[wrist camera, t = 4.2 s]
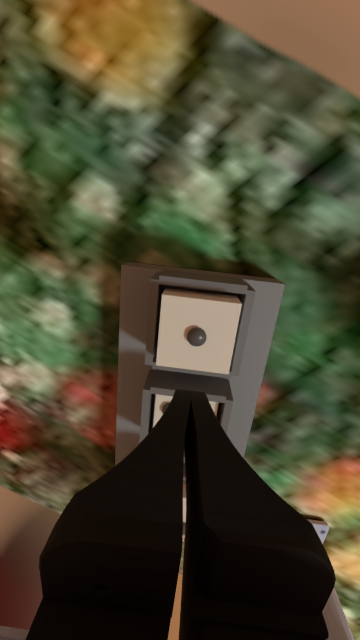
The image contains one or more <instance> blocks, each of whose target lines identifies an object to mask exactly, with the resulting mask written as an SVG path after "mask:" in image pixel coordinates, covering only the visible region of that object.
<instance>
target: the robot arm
mask: <svg viewBox="0 0 360 640" xmlns="http://www.w3.org/2000/svg"><path fill="white" fill-rule="evenodd" d="M184 449H185V478H186V525H185V544H184V562H183V580H182V596H181V613H180V629H179V640H354V638H353V635H352V633H351V630H350V628H349V625H348V622H347V620H346V617H345V615H344V612H343V609H342V607H341V604H340V602H339V599H338V596H337V594H336V591H335V589H334V584H335V581H336V579H335V574H334V570H333V567H332V565H331V562H330V560H329V557H328V555H327V552H326V550H325V548H324V546H323V542H324V540H325V537H326V535H327V533H328V530H329V526H328V524H327V523H326V522H324V521H317V520H309V519H306V518H304V517H303V516H302V515H301V514H299V513H298V512H297V511H296V510H295V509H293V508H292V507H291V506H290V505H289V504H287V503H286V502H285V501H284V500H283V499H282V498H281V497H280V496H279V495H277V494H276V493H275V492H274V491H273V490H272V489H271V488H270V487H269V486H268V485H267V484H266V483H265V482H264V481H263V480H262V479H261V478H260V477H259V475H258V474H257V473H256V472H255V471H254V470H253V469H252V468H251V467H250V466H249V464H248V463H247V462H246V461H245V460H244V458H243V457H242V456H241V454H240V453H239V452H238V451H237V449H236V448H235V446H234V445H233V443H232V442H231V441H230V439H229V437H228V436H227V434H226V433H225V431H224V430H223V428H222V426H221V424H220V423H219V421H218V419H217V417H216V415H215V413H214V411H213V409H212V407H211V405H210V403H209V400H208V398H207V395H206V394H205V392H199V391H191V390H182V389H177V390H175V392H174V395H173V398H172V400H171V402H170V404H169V405H168V407H167V409H166V410H165V412H164V413H163V415H162V417H161V418H160V419H159V421H158V422H157V423H156V425H155V426H154V427H153V429H152V430H151V431H150V432H149V434H148V435H147V436H146V437H145V438H144V439H143V440H142V441H141V442H140V444H139V445H138V446H137V447H136V448H135V449H134V450H133V451H131V452H130V453H129V454H128V455H127V456H126V457H125V458H124V459H123V460H122V461H121V462H119V463H118V464H117V465H116V466H114V467H113V468H112V469H111V470H109V471H108V472H107V473H106V474H104V475H103V476H102V477H100V478H99V479H97V480H96V481H94V482H93V483H91V484H90V485H88V486H87V487H85V488H84V489H82V490H81V491H79V492H78V493H76V494H75V495H74V496H73V498H72V499H71V501H70V502H69V503H68V505H67V506H66V508H65V509H64V511H63V513H62V514H61V516H60V518H59V519H58V521H57V523H56V524H55V526H54V528H53V530H52V532H51V534H50V536H49V538H48V541H47V543H46V545H45V547H44V549H43V551H42V553H41V555H40V561H39V570H40V577H41V585H42V593H43V599H42V601H41V604H40V606H39V608H38V611H37V613H36V616H35V618H34V620H33V623H32V625H31V628H30V630H25V629H18V628H11V627H4V626H0V640H167V639H168V633H169V626H170V619H171V617H172V611H173V605H174V598H175V592H176V585H177V579H178V572H179V566H180V560H181V553H182V535H183V465H184Z"/></svg>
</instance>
